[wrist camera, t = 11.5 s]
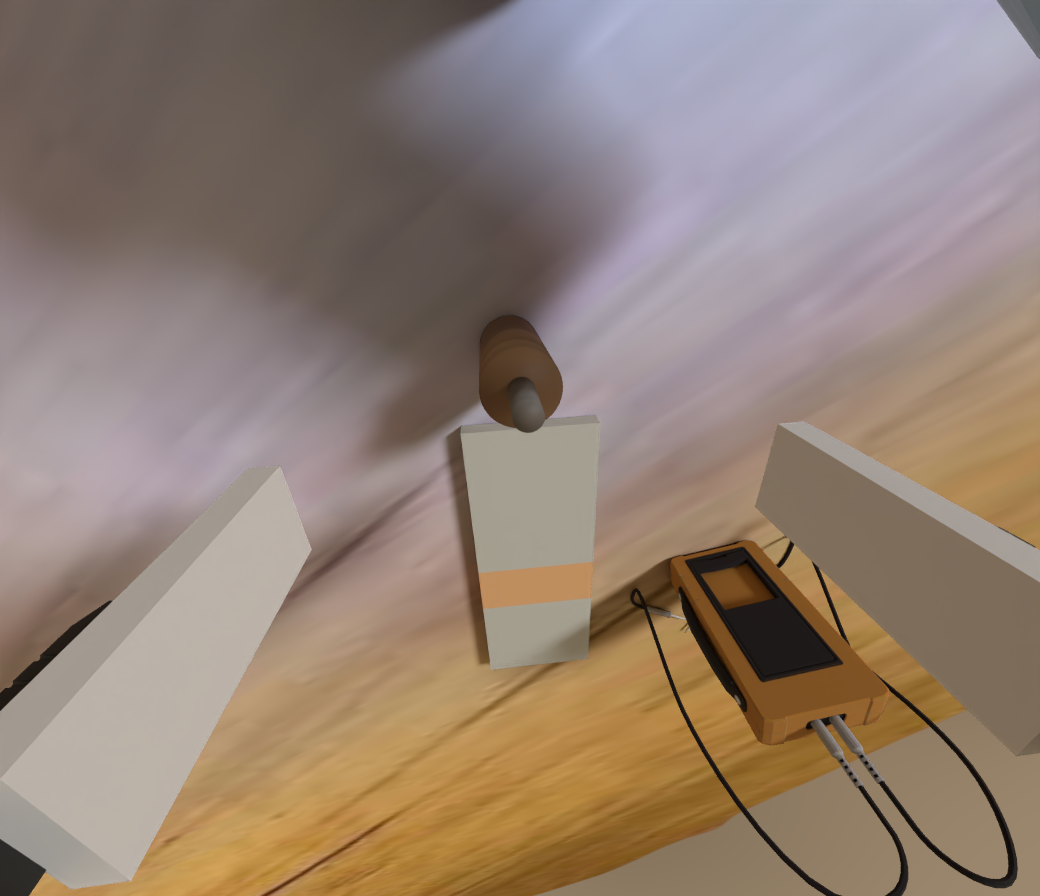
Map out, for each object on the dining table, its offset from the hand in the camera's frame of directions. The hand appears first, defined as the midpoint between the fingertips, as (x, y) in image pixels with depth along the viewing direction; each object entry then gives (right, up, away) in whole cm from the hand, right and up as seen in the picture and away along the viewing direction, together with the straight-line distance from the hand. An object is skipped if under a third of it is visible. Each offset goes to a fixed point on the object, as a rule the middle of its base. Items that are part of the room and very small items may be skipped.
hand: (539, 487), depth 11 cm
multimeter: (+17, -11, +25) cm, 32 cm away
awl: (-1, +7, +13) cm, 15 cm away
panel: (+1, -8, +21) cm, 23 cm away
